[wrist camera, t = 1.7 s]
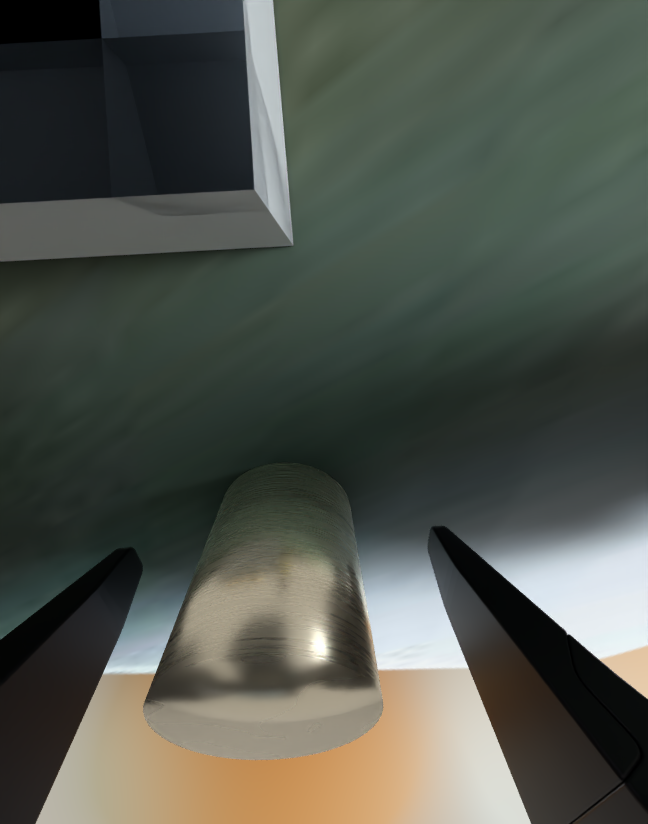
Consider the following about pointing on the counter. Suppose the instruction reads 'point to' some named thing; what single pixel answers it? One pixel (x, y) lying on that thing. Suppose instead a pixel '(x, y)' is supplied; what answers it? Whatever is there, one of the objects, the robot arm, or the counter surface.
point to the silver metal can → (271, 627)
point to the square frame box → (140, 128)
